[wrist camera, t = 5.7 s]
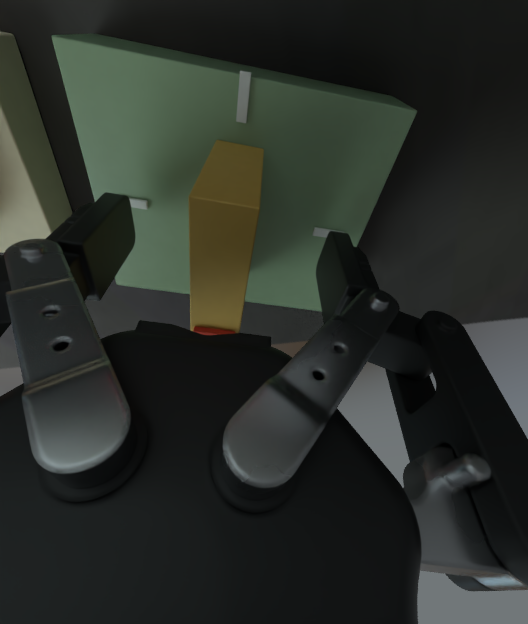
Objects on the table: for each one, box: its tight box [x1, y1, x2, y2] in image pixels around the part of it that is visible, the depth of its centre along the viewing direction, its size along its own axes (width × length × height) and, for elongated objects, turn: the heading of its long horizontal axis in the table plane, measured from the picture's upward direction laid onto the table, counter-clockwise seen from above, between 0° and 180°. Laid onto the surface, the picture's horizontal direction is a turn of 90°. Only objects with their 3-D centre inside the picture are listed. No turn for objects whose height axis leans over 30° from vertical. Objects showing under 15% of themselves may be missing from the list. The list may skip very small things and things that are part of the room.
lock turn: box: [188, 140, 264, 335], centre depth 11 cm, size 6×2×5 cm, turn 170°
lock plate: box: [52, 33, 417, 311], centre depth 14 cm, size 12×10×3 cm
